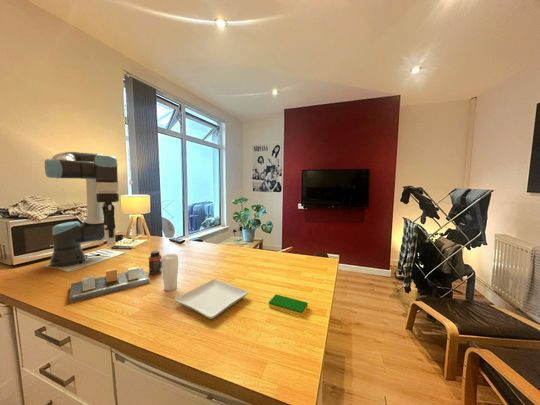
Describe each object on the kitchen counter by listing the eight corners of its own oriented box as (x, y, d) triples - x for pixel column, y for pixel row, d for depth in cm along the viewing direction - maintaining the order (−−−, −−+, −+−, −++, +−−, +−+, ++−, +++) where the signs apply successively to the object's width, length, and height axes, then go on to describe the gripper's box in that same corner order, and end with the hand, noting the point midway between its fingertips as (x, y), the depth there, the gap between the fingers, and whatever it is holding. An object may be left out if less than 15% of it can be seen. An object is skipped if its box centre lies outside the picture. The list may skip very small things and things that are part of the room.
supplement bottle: (164, 271, 115) (164, 251, 114) (154, 275, 109) (153, 254, 109) (156, 269, 117) (156, 249, 116) (146, 273, 112) (146, 252, 111)
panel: (71, 287, 96) (70, 272, 95) (143, 272, 114) (142, 258, 113) (69, 303, 84) (68, 285, 83) (149, 282, 102) (149, 267, 101)
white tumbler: (182, 286, 99) (181, 254, 98) (170, 293, 92) (170, 259, 91) (170, 284, 101) (169, 253, 100) (158, 290, 95) (157, 257, 93)
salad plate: (211, 326, 72) (211, 316, 72) (173, 306, 83) (173, 298, 83) (249, 298, 90) (249, 290, 90) (214, 285, 101) (214, 278, 101)
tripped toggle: (106, 280, 98) (105, 270, 98) (116, 278, 101) (116, 268, 100) (106, 282, 96) (105, 271, 96) (117, 280, 99) (116, 269, 99)
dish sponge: (275, 299, 90) (275, 293, 90) (307, 308, 84) (307, 302, 84) (268, 308, 84) (268, 302, 83) (302, 318, 77) (302, 312, 77)
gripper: (95, 192, 97) (97, 238, 99) (97, 193, 79) (100, 250, 80) (115, 192, 102) (117, 235, 104) (122, 193, 84) (124, 246, 85)
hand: (109, 242), depth 92 cm, fingers open, 13 cm apart
